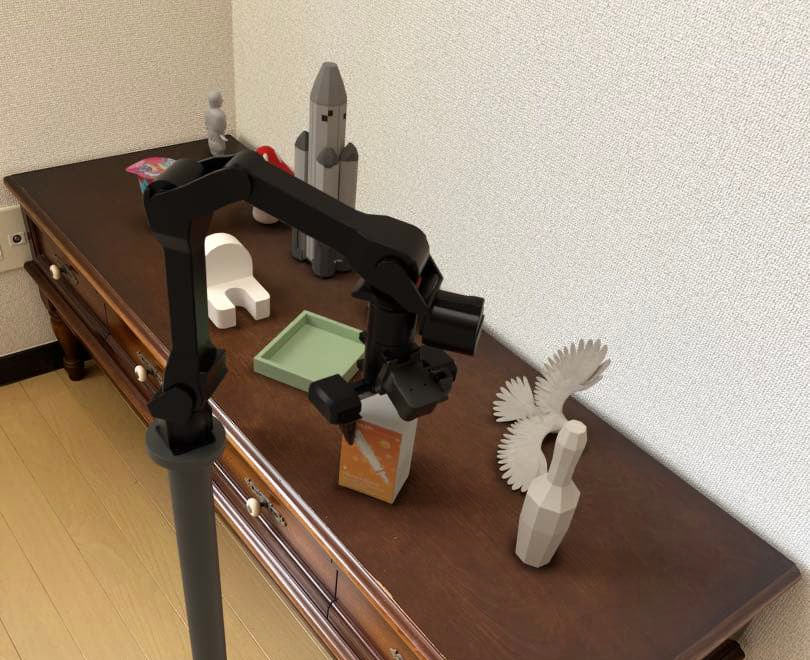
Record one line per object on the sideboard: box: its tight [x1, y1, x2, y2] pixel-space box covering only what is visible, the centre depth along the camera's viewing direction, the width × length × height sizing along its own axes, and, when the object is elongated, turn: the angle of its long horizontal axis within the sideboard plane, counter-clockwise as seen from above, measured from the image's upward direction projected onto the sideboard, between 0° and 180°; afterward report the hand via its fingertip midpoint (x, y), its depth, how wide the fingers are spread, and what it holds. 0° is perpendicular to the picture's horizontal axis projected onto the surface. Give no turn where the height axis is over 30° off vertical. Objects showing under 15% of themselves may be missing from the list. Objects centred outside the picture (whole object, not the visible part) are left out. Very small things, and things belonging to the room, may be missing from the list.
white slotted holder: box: [205, 232, 271, 330], centre depth 137 cm, size 10×18×11 cm, turn 34°
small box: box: [338, 394, 419, 505], centre depth 108 cm, size 8×6×13 cm
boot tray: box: [253, 309, 365, 393], centre depth 130 cm, size 16×14×3 cm
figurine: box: [201, 89, 229, 156], centre depth 172 cm, size 9×4×15 cm, turn 42°
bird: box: [492, 338, 612, 493], centre depth 120 cm, size 21×16×15 cm
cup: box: [125, 156, 177, 196], centre depth 150 cm, size 9×8×12 cm
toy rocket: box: [291, 61, 360, 280], centre depth 140 cm, size 12×9×35 cm
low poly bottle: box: [515, 419, 588, 569], centre depth 99 cm, size 6×6×22 cm
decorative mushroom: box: [252, 145, 294, 225], centre depth 156 cm, size 14×14×15 cm
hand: (379, 432), depth 106 cm, fingers closed on small box, 9 cm apart
